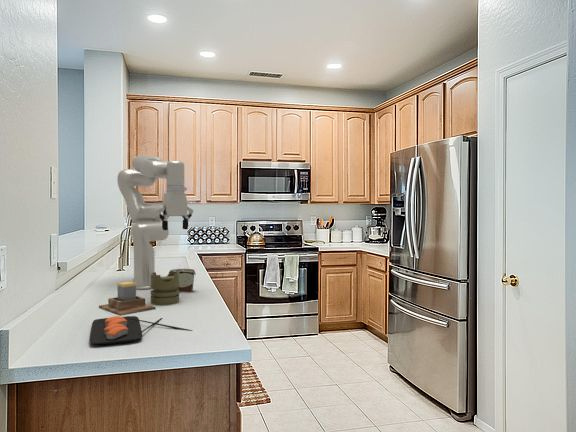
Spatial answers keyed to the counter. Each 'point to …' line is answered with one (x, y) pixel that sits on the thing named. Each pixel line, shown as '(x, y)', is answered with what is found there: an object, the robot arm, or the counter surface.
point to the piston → (165, 289)
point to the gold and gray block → (126, 291)
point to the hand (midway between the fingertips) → (175, 229)
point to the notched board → (126, 306)
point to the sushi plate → (119, 329)
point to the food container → (185, 279)
